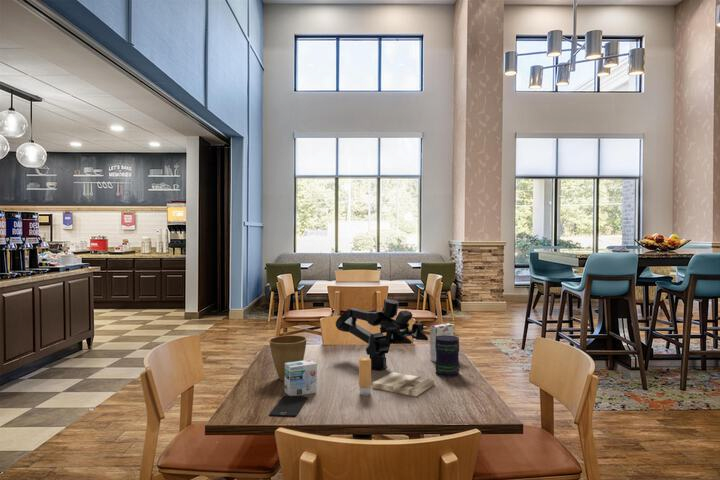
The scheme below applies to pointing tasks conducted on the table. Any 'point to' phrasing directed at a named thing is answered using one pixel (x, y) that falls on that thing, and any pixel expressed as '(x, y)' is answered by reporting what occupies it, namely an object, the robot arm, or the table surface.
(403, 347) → the table surface
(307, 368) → the light bulb box
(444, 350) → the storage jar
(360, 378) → the orange rounded cylinder
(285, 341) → the plant pot
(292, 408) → the cell phone
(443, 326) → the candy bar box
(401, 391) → the subfloor panel
